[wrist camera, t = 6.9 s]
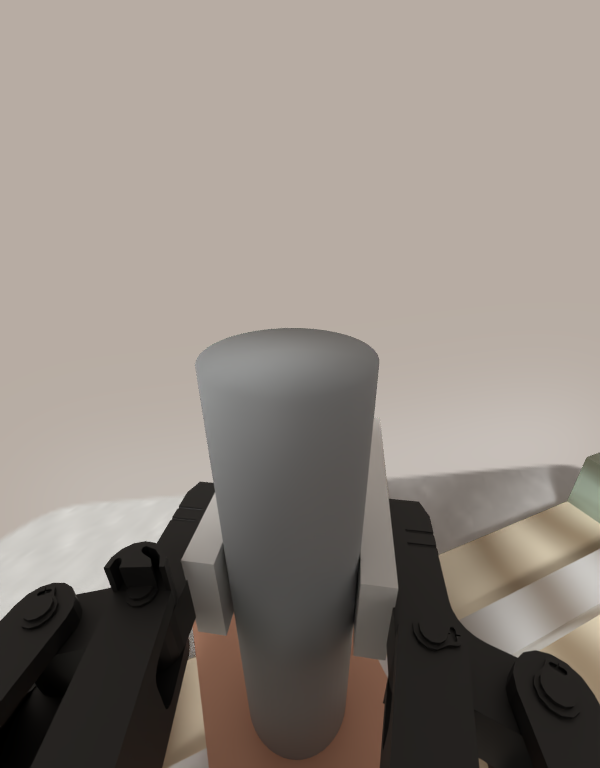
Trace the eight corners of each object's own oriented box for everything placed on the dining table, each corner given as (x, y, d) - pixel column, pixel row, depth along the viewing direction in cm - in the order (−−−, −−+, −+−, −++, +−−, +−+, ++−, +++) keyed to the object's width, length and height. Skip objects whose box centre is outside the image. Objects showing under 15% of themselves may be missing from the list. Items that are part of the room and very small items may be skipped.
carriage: (324, 616, 18) (336, 295, 11) (432, 858, 11) (664, 438, 4) (204, 667, 16) (117, 317, 9) (248, 999, 9) (23, 686, 2)
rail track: (587, 504, 27) (614, 447, 25) (783, 634, 19) (854, 567, 16) (45, 739, 15) (-5, 674, 13) (-72, 1367, 7) (-275, 1518, 5)
